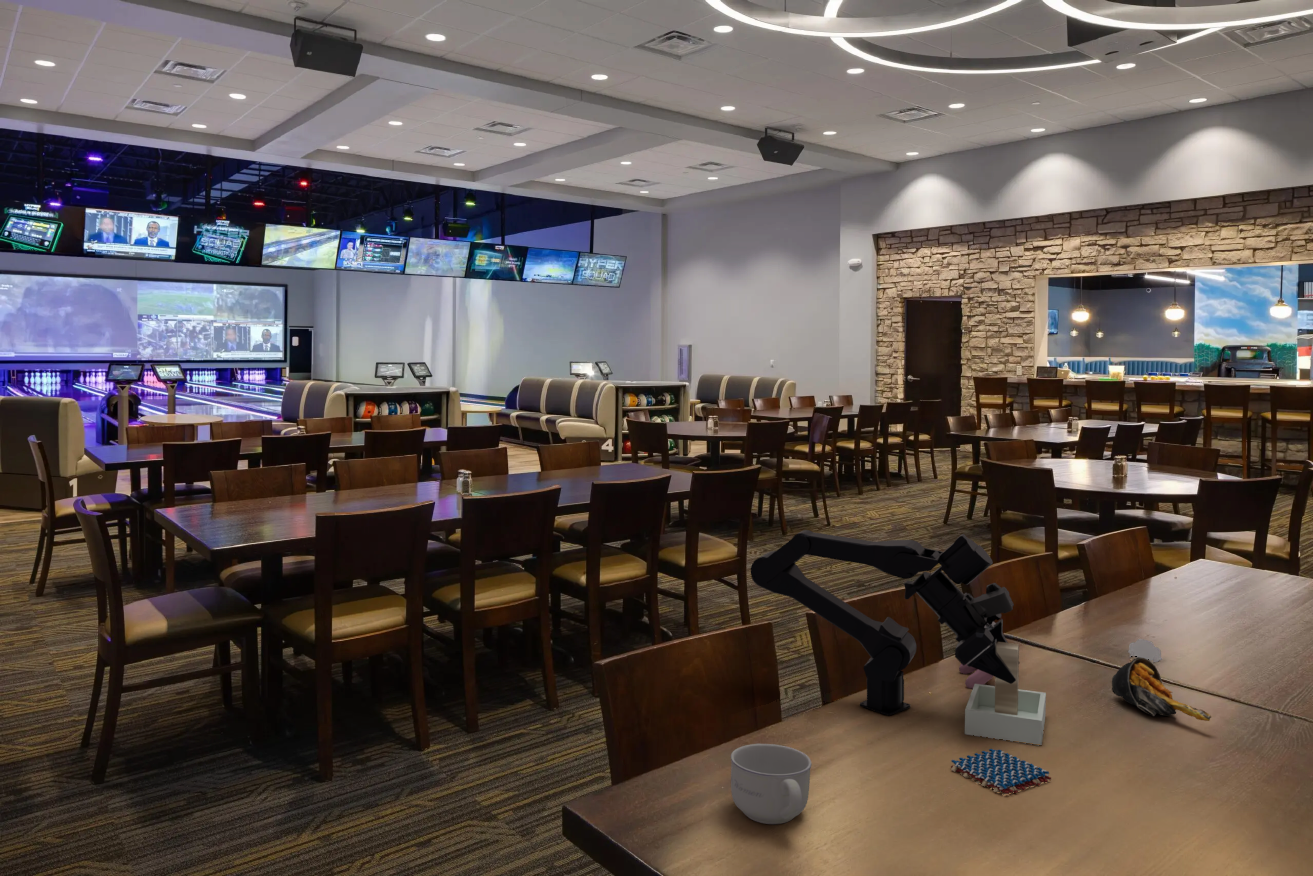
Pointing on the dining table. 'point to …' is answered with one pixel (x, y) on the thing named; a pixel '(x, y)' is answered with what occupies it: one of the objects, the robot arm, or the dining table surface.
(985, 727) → the box
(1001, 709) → the plate
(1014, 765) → the woven mat
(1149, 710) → the fried shrimp in bowl
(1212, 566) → the dining table surface
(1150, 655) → the car cutout
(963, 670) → the video game controller
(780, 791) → the teacup
